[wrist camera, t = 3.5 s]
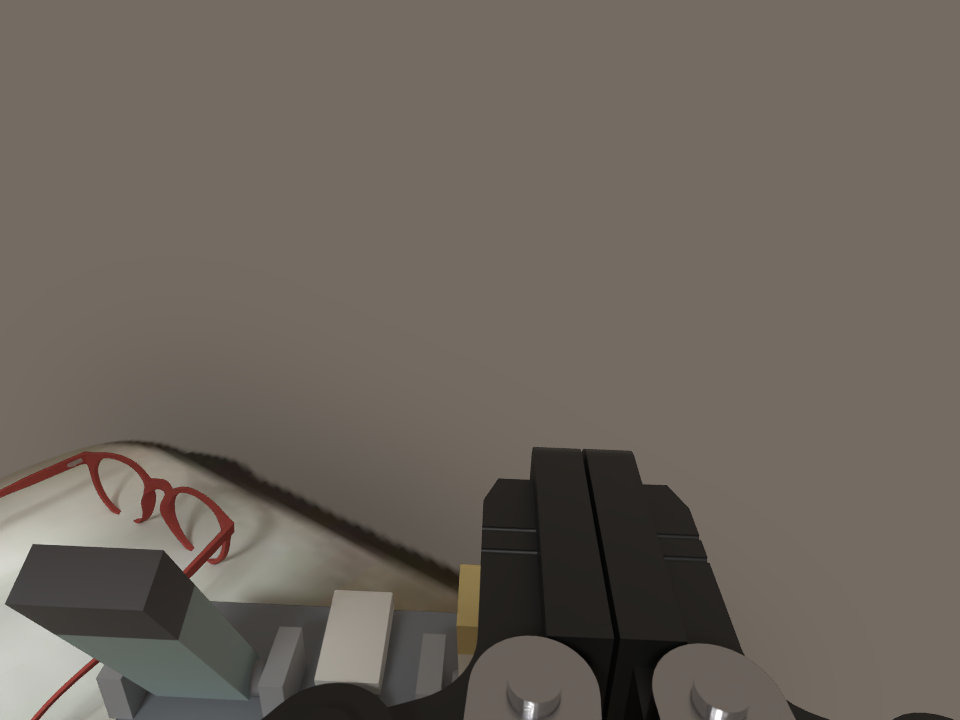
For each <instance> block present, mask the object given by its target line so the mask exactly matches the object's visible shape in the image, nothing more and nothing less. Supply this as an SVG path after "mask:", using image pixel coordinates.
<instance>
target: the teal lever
mask: <svg viewBox="0 0 960 720" xmlns="http://www.w3.org/2000/svg"><path fill="white" fill-rule="evenodd" d="M5 604H6V605H7V606H9V607H11V608H12V609H14V610H15V611H17V612H19V613H20V614H22V615H24V616H25V617H27V618H29V619H30V620H32V621H34V622H35V623H37V624H39V625H40V626H42V627H43V628H45V629H47V630H48V631H50V632H52V633H53V634H55V635H57V636H58V637H60V638H62V639H63V640H65V641H67V642H68V643H70V644H72V645H73V646H75V647H76V648H78V649H80V650H81V651H83V652H85V653H86V654H88V655H90V656H91V657H93V658H95V659H96V660H98V661H100V662H101V663H103V664H105V665H106V666H108V667H109V668H111V669H113V670H114V671H116V672H118V673H119V674H121V675H123V676H124V677H126V678H128V679H129V680H131V681H133V682H134V683H136V684H137V685H139V686H141V687H142V688H144V689H146V690H147V691H149V692H151V693H152V694H154V695H156V696H167V697H187V698H207V699H227V700H247V701H249V700H250V696H259V691H258V684H259V681H260V679H261V676H262V673H263V670H264V668H265V665H266V662H267V661H261V660H259V657H260V656H259V655H258V654H257V653H256V651H255V650H254V649H253V648H252V647H251V646H250V645H249V644H248V643H247V642H246V640H245V639H244V638H243V637H242V636H241V635H240V634H239V633H238V632H237V631H236V629H235V628H234V627H233V626H232V625H231V624H230V623H229V622H228V621H227V620H226V618H225V617H224V616H223V615H222V614H221V613H220V612H219V611H218V610H217V609H216V607H215V606H214V605H213V604H212V603H211V602H210V601H209V600H208V599H207V598H206V596H205V595H204V594H203V593H202V592H201V591H200V590H199V589H198V588H197V587H196V586H195V584H194V583H193V582H192V581H191V580H190V579H189V578H188V577H187V576H186V575H185V573H184V572H183V571H182V570H181V569H180V568H179V567H178V566H177V565H176V564H175V562H174V561H173V560H172V559H171V558H170V557H169V556H168V555H167V554H166V553H165V551H164V550H146V549H125V548H103V547H82V546H60V545H39V544H33V545H32V547H31V549H30V551H29V553H28V556H27V558H26V560H25V562H24V564H23V566H22V568H21V571H20V573H19V575H18V577H17V579H16V581H15V583H14V586H13V588H12V590H11V592H10V594H9V596H8V598H7V601H6V603H5Z"/></svg>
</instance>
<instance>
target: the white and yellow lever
mask: <svg viewBox="0 0 960 720" xmlns="http://www.w3.org/2000/svg"><path fill="white" fill-rule="evenodd" d="M480 570H481V565H468V564H460V577H459V593H458V609H457V625H456V626H457V649H458V670H453V675H452V682H454V681H455V680H456V679H457V678H458V677H459V676H460V675H461V674H462V673H463V672H464V670H465V669H466V668H467V666H468V665H469V663H470V661H471V659H472V658H473V655H474V652H475V649H476V645H477V637H478V615H479V592H480Z"/></svg>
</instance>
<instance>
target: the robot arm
mask: <svg viewBox="0 0 960 720" xmlns="http://www.w3.org/2000/svg"><path fill="white" fill-rule="evenodd" d="M261 720H829V719H826V718H823V717H820V716H817V715H815V714H812V713H809V712H807V711H805V710H803V709H801V708H799V707H797V706H795V705H793V704H792V703H790V702H789V701H787V700H786V699H785V697H784V695H783V694H782V692H781V690H780V689H779V687H778V686H777V684H776V683H775V682H774V680H773V679H772V678H771V677H770V676H769V675H768V674H767V673H766V672H765V671H764V670H763V669H762V668H760V667H759V666H758V665H757V664H756V663H754V662H753V661H751V660H750V659H748V658H746V657H745V656H744V653H743V652H742V649H741V647H740V644H739V641H738V639H737V636H736V633H735V630H734V628H733V625H732V622H731V619H730V617H729V614H728V612H727V609H726V606H725V603H724V601H723V598H722V595H721V593H720V590H719V587H718V585H717V582H716V579H715V577H714V574H713V571H712V568H711V566H710V563H707V555H706V552H705V550H704V547H703V544H702V542H701V540H699V534H698V531H697V528H696V526H695V523H694V520H693V518H692V515H691V512H690V510H689V508H688V507H687V506H686V505H685V504H684V503H683V502H682V501H681V500H680V499H679V498H678V497H677V496H676V494H675V493H674V492H673V491H672V490H671V489H670V488H669V487H668V486H667V485H643V484H642V481H641V478H640V475H639V471H638V468H637V464H636V461H635V457H634V455H633V453H632V451H623V450H597V449H583V451H582V452H581V450H580V449H567V448H544V447H533V450H532V459H531V471H530V480H519V479H498V480H497V481H496V483H495V484H494V486H493V488H492V489H491V490H490V492H489V493H488V494H487V496H486V497H485V499H484V504H483V526H482V548H481V570H480V592H479V615H478V637H477V645H476V649H475V652H474V655H473V658H472V659H471V661H470V663H469V665H468V666H467V668H466V669H465V670H464V672H463V673H462V674H461V675H460V676H459V677H458V678H457V679H456V680H455V681H454V682H452V683H451V684H450V685H448V686H447V687H445V688H444V689H442V690H440V691H438V692H436V693H434V694H432V695H429V696H426V697H423V698H420V699H416V700H412V701H409V702H405V703H401V704H398V705H394V706H390V707H387V706H386V705H385V704H384V703H383V702H382V701H381V699H380V698H379V697H377V696H376V695H375V694H373V693H372V692H370V691H368V690H366V689H364V688H362V687H360V686H356V685H352V684H347V683H326V684H321V685H316V686H313V687H310V688H307V689H304V690H302V691H300V692H298V693H296V694H294V695H292V696H291V697H289V698H288V699H287V700H285V701H284V702H282V703H281V704H280V705H278V706H277V707H276V708H275V709H274V710H272V711H271V712H270V713H269V714H267V715H266V716H265V717H264V718H262V719H261ZM893 720H953V719H951V718H947V717H944V716H940V715H935V714H929V713H910V714H904V715H901V716H899V717H897V718H894V719H893Z"/></svg>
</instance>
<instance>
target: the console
mask: <svg viewBox="0 0 960 720" xmlns="http://www.w3.org/2000/svg"><path fill="white" fill-rule="evenodd" d="M210 602H211V603H212V604H213V605H214V606H215V607H216V609H217V610H218V611H219V612H220V613H221V614H222V615H223V616H224V617H225V618H226V620H227V621H228V622H229V623H230V624H231V625H232V626H233V627H234V628H235V629H236V631H237V632H238V633H239V634H240V635H241V636H242V637H243V638H244V639H245V640H246V642H247V643H248V644H249V645H250V646H251V647H252V648H253V649H254V650H255V651H256V653H257V654H258V655H259V656H260V657H259V660H261V661H267V662H266V665H265V668H264V670H263V673H262V676H261V679H260V681H259V684H258V691H259V696H250V700H249V701H247V700H227V699H207V698H187V697H167V696H156V695H154V694H152V693H151V692H149V691H147V690H146V689H144V688H142V687H141V686H139V685H137V684H136V683H134V682H133V681H131V680H129V679H128V678H126V677H124V676H123V675H121V674H119V673H118V672H116V671H114V670H113V669H111V668H109V667H108V666H106V665H104V666H103V668H102V669H101V671H100V673H99V674H98V676H97V678H96V680H97V683H98V685H99V688H100V691H101V694H102V697H103V700H104V703H105V706H106V709H107V712H108V715H109V718H117V719H116V720H261V719H262V718H264V717H265V716H266V715H267V714H269V713H270V712H271V711H272V710H274V709H275V708H276V707H277V706H278V705H280V704H281V703H282V702H284V701H285V700H287V699H288V698H289V697H291V696H292V695H294V694H296V693H298V692H300V691H302V690H304V689H307V688H310V687H313V686H316V685H321V684H326V683H347V684H352V685H356V686H360V687H362V688H364V689H366V690H368V691H370V692H372V693H373V694H375V695H376V696H377V697H379V698H380V699H381V701H382V702H383V703H384V704H385V705H386V706H387V707H390V706H394V705H398V704H401V703H405V702H409V701H412V700H416V699H420V698H423V697H426V696H429V695H432V694H434V693H436V692H438V691H440V690H442V689H444V688H445V687H447V686H448V685H450V684H451V683H452V675H453V670H458V649H457V626H456V625H457V613H447V612H426V611H405V610H394V602H393V593H392V592H373V591H352V590H335V591H334V595H333V600H332V604H331V607H321V606H300V605H279V604H258V603H237V602H216V601H210Z"/></svg>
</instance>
